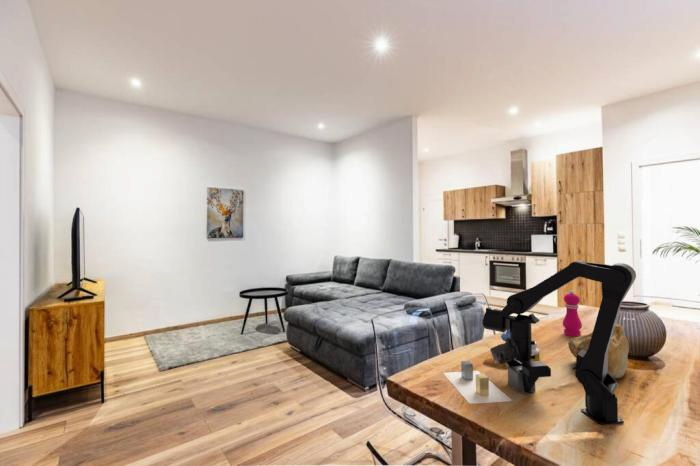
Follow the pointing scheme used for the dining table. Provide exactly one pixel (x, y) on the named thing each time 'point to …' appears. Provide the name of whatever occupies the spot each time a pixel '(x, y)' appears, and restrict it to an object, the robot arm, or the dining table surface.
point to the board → (469, 389)
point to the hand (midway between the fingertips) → (521, 388)
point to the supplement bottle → (535, 352)
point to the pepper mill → (572, 315)
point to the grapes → (505, 335)
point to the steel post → (467, 370)
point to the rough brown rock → (615, 351)
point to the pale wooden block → (482, 384)
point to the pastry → (495, 363)
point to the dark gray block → (517, 379)
